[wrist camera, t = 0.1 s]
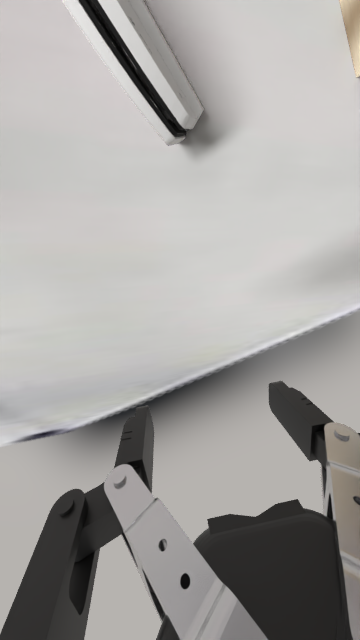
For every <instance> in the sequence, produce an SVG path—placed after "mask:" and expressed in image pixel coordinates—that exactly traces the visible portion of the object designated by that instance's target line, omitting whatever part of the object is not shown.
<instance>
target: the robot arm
mask: <svg viewBox="0 0 360 640" xmlns="http://www.w3.org/2000/svg"><path fill="white" fill-rule="evenodd" d="M269 405H270V408H271V411H272V412H273V414H274V415H275V416H276V417H277V419H278V420H279V422H280V423H281V424H282V425H283V427H284V428H285V429H286V431H287V432H288V433H289V435H290V436H291V437H292V439H293V440H294V441H295V443H296V444H297V445H298V447H299V448H300V449H301V451H302V452H303V453H304V454H305V456H306V457H307V459H308V460H309V461H313V460H318V461H319V462H320V463H321V480H322V496H323V514H321V513H318V512H315V511H313V510H309V509H304V508H303V507H302V506H301V504H300V503H299V501H298V499H296V500H292V501H287V502H283V503H278V504H275V505H274V506H272V507H271V508H269V509H268V510H266V511H265V512H263V513H262V514H260V515H259V516H256V517H251V516H242V515H233V514H228V515H224V516H219V517H215V518H210V519H207V520H208V526H209V528H208V529H207V530H205V531H204V532H203V533H202V534H201V535H200V536H199V537H198V538H197V539H196V540H195V542H194V543H192V542H191V541H190V539H189V538H188V537H187V535H186V534H185V532H184V531H183V530H182V528H181V527H180V526H179V524H178V523H177V522H176V520H175V519H174V518H173V516H172V515H171V514H170V512H169V511H168V510H167V508H166V507H165V505H164V504H163V503H162V501H161V500H160V499H158V498H156V499H155V498H154V497H153V495H152V470H153V447H154V427H153V422H152V418H151V413H150V409H149V406H143V407H137V409H136V414H135V417H131V418H129V419H128V420H127V422H126V423H125V425H124V428H123V432H122V436H121V441H120V445H119V449H118V454H117V458H116V462H115V466H114V469H113V470H112V471H111V472H110V473H109V474H108V476H107V478H106V480H105V482H104V483H102V484H101V485H99V486H98V487H96V488H94V489H92V490H90V491H89V492H87V493H85V494H84V493H83V492H82V490H80V489H73V490H70V491H68V492H67V493H65V494H64V495H62V496H61V497H60V498H59V499H58V500H57V501H56V503H55V504H54V506H53V507H52V509H51V511H50V513H49V515H48V518H47V520H46V523H45V525H44V528H43V530H42V533H41V535H40V538H39V540H38V543H37V545H36V547H35V550H34V552H33V555H32V557H31V560H30V562H29V565H28V567H27V570H26V572H25V575H24V577H23V579H22V582H21V585H20V587H19V589H18V592H17V594H16V597H15V599H14V602H13V604H12V607H11V609H10V612H9V614H8V617H7V619H6V622H5V624H4V626H3V629H2V632H1V634H0V640H84V636H85V630H86V625H87V620H88V614H89V608H90V602H91V597H92V591H93V585H94V579H95V573H96V568H97V562H98V557H99V551H100V548H101V547H102V546H104V545H105V544H106V543H108V542H110V541H111V540H113V539H114V538H116V537H118V536H119V535H122V538H123V540H124V542H125V544H126V546H127V548H128V550H129V552H130V555H131V557H132V559H133V561H134V563H135V565H136V567H137V569H138V572H139V574H140V576H141V578H142V580H143V583H144V585H145V588H146V590H147V592H148V594H149V597H150V599H151V601H152V603H153V605H154V607H155V610H156V612H157V614H158V616H159V618H160V620H161V622H162V625H161V628H160V630H159V633H158V636H157V639H156V640H360V433H357V432H356V431H354V430H353V429H352V428H350V427H348V426H346V425H344V424H340V423H335V422H333V421H332V420H331V419H330V418H329V417H328V416H327V415H326V414H324V413H323V412H322V411H321V410H320V409H319V408H318V407H317V406H315V405H314V404H313V403H312V402H311V401H310V400H309V399H307V397H306V396H304V395H303V394H302V393H301V392H300V391H298V390H296V389H294V388H289V387H288V386H287V385H286V384H285V383H283V382H282V381H279V382H273V383H270V384H269Z"/></svg>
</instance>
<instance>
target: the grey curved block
mask: <svg viewBox="0 0 360 640" xmlns="http://www.w3.org/2000/svg"><path fill="white" fill-rule="evenodd" d="M62 2H63V3H64V5H65V6H66V8H67V9H68V11H69V12H70V14H71V15H72V17H73V19H74V20H75V21H76V23H77V24H78V26H79V27H80V29H81V30H82V32H83V33H84V35H85V36H86V38H87V39H88V41H89V42H90V44H91V45H92V47H93V48H94V50H95V51H96V52H97V54H98V55H99V57H100V58H101V60H102V61H103V62H104V64H105V65H106V67H107V68H108V69H109V71H110V72H111V74H112V75H113V76H114V78H115V79H116V81H117V82H118V83H119V85H120V86H121V87H122V89H123V90H124V92H125V93H126V94H127V95H128V97H129V98H130V99H131V101H132V102H133V103H134V105H135V106H136V107H137V109H138V110H139V111H140V113H141V114H142V115H143V116H144V118H145V119H146V120H147V121H148V123H149V124H150V125H151V126H152V128H153V129H154V130H155V131H156V133H157V134H158V135H159V136H160V137H161V139H162V140H163V141H164V142H165V143H166V144H167V145H168V146H169V145H174V144H178V143H180V142H181V141H182V140H184V139H185V138H186V137H185V134H186V132H185V130H189V129H193V128H194V126H195V124H196V123H197V121H198V119H199V117H200V116H201V114H202V112H203V111H204V108H203V106H202V104H201V103H200V101H199V99H198V97H197V96H196V94H195V92H194V90H193V88H192V87H191V85H190V83H189V81H188V79H187V78H186V76H185V74H184V72H183V70H182V69H181V67H180V65H179V63H178V61H177V60H176V58H175V56H174V54H173V52H172V51H171V49H170V47H169V45H168V44H167V42H166V40H165V38H164V36H163V35H162V33H161V31H160V29H159V27H158V26H157V24H156V22H155V20H154V18H153V17H152V15H151V13H150V11H149V9H148V8H147V6H146V4H145V2H144V0H62Z"/></svg>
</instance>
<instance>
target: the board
mask: <svg viewBox="0 0 360 640" xmlns="http://www.w3.org/2000/svg"><path fill="white" fill-rule="evenodd" d="M339 1H340V6H341V10H342V15H343V19H344V24H345V28H346V33H347V37H348V42H349V46H350V51H351V55H352V60H353V65H354V69H355V74H356V77H359V76H360V0H339Z"/></svg>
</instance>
